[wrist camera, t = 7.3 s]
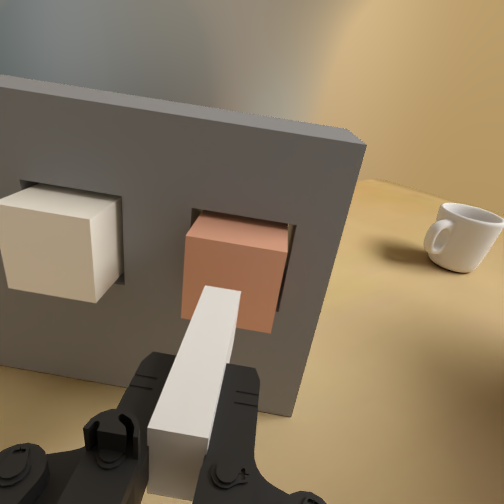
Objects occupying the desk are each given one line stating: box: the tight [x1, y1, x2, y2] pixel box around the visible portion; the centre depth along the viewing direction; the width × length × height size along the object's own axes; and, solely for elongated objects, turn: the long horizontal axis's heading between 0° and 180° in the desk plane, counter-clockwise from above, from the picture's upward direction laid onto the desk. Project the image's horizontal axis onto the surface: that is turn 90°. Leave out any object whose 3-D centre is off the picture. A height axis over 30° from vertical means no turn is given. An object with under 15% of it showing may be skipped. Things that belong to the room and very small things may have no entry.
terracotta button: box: [181, 210, 288, 334], centre depth 19 cm, size 5×6×5 cm
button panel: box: [0, 74, 367, 417], centre depth 23 cm, size 28×6×18 cm, turn 85°
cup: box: [424, 203, 504, 273], centre depth 48 cm, size 11×8×8 cm
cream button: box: [0, 183, 124, 303], centre depth 19 cm, size 5×6×5 cm
